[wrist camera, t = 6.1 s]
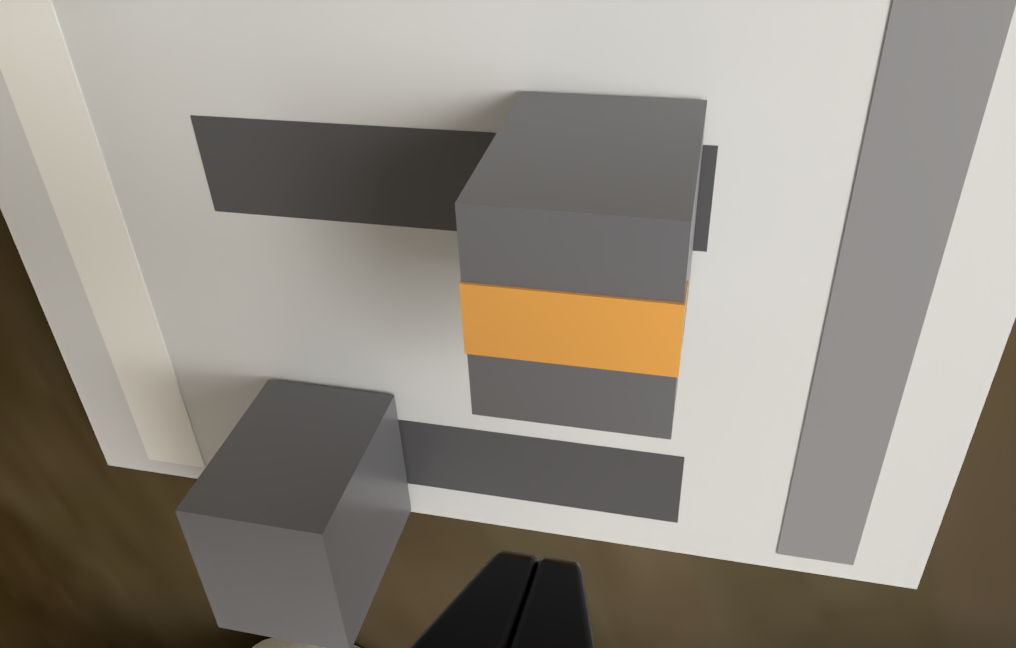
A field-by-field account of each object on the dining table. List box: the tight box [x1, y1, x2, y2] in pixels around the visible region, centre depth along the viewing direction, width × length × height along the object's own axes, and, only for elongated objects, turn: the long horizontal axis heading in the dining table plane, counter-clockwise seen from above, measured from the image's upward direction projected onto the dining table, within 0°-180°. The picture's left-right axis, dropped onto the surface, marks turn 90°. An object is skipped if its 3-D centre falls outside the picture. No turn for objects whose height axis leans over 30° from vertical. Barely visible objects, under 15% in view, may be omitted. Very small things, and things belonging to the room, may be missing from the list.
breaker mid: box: [455, 91, 707, 440], centre depth 14 cm, size 3×4×4 cm
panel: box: [0, 0, 1016, 589], centre depth 16 cm, size 20×18×2 cm
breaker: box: [175, 380, 411, 648], centre depth 19 cm, size 3×4×4 cm
